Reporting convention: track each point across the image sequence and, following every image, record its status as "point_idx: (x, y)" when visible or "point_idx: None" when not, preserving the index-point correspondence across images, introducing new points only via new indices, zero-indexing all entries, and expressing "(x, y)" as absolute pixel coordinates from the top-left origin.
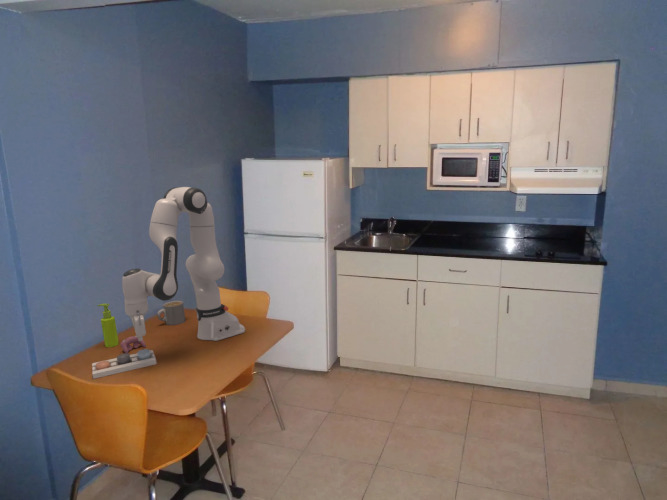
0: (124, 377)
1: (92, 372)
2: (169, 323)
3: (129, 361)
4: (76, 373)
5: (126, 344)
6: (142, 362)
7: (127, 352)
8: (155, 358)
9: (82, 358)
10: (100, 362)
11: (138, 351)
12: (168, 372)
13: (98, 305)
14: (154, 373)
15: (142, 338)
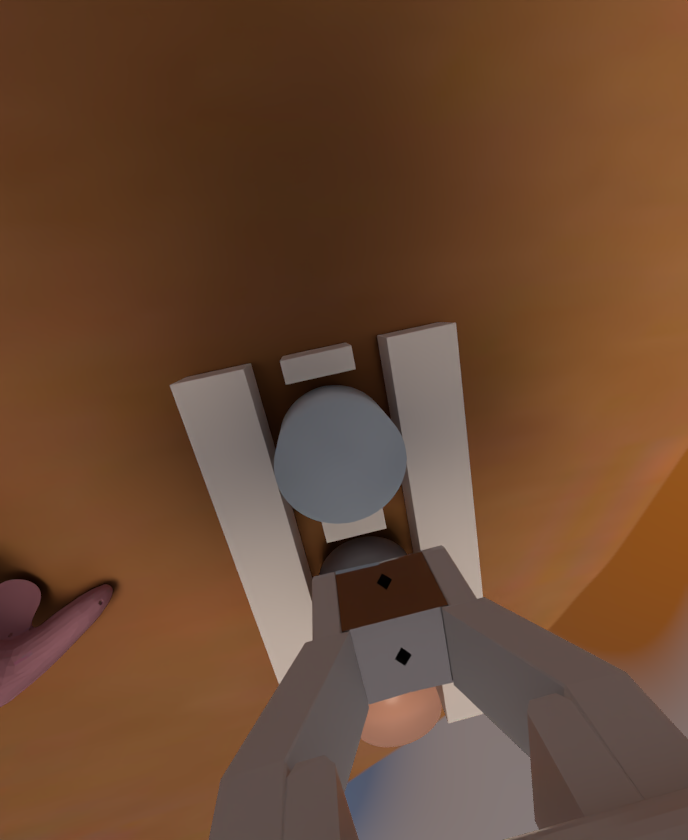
0: (556, 521)
1: (466, 717)
2: None
3: (389, 545)
4: (354, 772)
5: (4, 659)
6: (461, 440)
7: (110, 596)
8: (425, 331)
9: (120, 816)
10: (374, 731)
11: (322, 516)
12: (664, 203)
13: None
14: (613, 324)
15: (452, 565)
